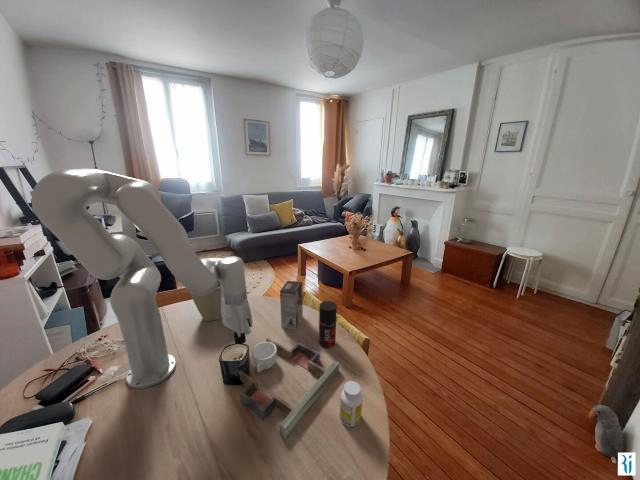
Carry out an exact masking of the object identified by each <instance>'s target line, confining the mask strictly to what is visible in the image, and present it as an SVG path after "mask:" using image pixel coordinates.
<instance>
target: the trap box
mask: <svg viewBox="0 0 640 480" xmlns="http://www.w3.org/2000/svg"><path fill="white" fill-rule="evenodd" d="M265 342H271V343H273V344H275V346H276V348H277V354H280V355H281V356H283V357H285V358H286V359H288V360H290V361H291V362H293V363H295V364H297V365H298V366H300V367H303V368H304V369H305V370H307V371H309V372H311V373H312V374H315V375H316V376H317V377H319V379H318V380H317V381H316V382H315V383H314V384H313V385H312V387H310V389H309V390H308V391H307V392H306V393H305V394H304V396H303V397H302V398H301V399H300V400H299V402H298V403H297V404H296V405H295V406H293V405H292V404H291V403H289V402H287V401H286V400H284V399H283V398H281V397H280V396H279V395H277V394H274V396H273V397H272V398H270V397H269V396H267V395H266V394H265V393H263V392H262V391H261V390H259V386H258V385H259V384H258V383H259V382H258V381H257V380H256V379H254V378H252V377H251V376H250V375H249V374H247V373H245V372H244V371H243V370H241V372H239V375H240V380H241V381H240V380H239V381H240V382H241V383H243V384H244V385H245V386H247V387H246V388H245V389H243V391H242V392H241V393H239V398H240V403H241V405H243V406H244V407H246V408H247V409H248V410H249V411H250V412H252V413H253V414H255V416H257V417H258V418H259V419H261V420H262V421H266V419H267V418H268V417H269V416H270V415H271V414H272V412H274V410H275V409H276V408H277V409H278V410H279V411H280V412H281V413H283V414H285V415H286V417H285V418H284V419H283V420H282V421H281V423H280V424H279V434H280V436H282V437H283V438H284V439H286V438H287V437H288V436H289V434H290V433H291V431H293V429H294V428H295V426H296V425H297V424H298V423H299V421H301V419H302V418H303V417H304V415H305V414H306V413H307V412H308V410H309V409H310V408H311V407H312V405H313V404H314V402H315V401H316V400H317V399H318V397H319V396H320V395H321V394H322V392H323V391H324V390H325V389H326V387H327V386H328V385H329V384H330V382H331V381H333V379H334V378H335V376H336V375H338V372H339V371H340V362H339V361H336V360H334V361H333V362H331V364H330V366H329V367H328V368H327V369H326V368H324V367H323V366H320V365H318V363H319V362H320V361H321V353H320V352H319V351H316V350H314V349H313V348H311V347H308V346H307V345H306V344H303V343H301V342H297V344H295V345H294V346H293V347H292V348H291V349H289V348H288V347H285V346H284V345H282V344H280V343H278V342H276V341H275V340H273V339H271V338H270V337H267V338H266V339H265Z"/></svg>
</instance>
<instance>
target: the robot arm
mask: <svg viewBox="0 0 640 480" xmlns="http://www.w3.org/2000/svg"><path fill="white" fill-rule="evenodd" d="M30 199H31V201H30V202H31V206H32V209H33V212H34V214H35V216H36V217H37V218H38V220H39V221H40V222H41V223H42V224H43V225H44V226H45V227H46V228H47V229H48V230H49V231H50V232H51V233H52V234H53V235H54V236H55V237H56V238H57V239H58V240H59V241H60V242H61V244H63V246H64V247H65V249H66V250H68V252H69V253H70V254H71V255H72V256H73V257H74V258H75V259H76V260H77V262H79V263H80V264H81V266H82V267H83V268H85V270H86V272H88V273H89V274H90V275H92V276H93V277H95V278H96V279H98V280H102V281H103V280H105V281H109V280H112V279H115V278H118V277H119V280H118V281H117V282H116V284H115V285H114V287H113V288H112V290H111V293H110V296H109V297H110V299H109V302H110V306H111V309H112V311H113V313H114V315H115V317H116V320H117V322H118V325H119V329H120V333H121V336H122V340H123V345H124V348H125V352H126V355H127V359H128V364H129V368H130V369H129V370H128V372H127V374H126V378H125V380H126V384H127V385H128V387H130V388H133V389H146V388H150V387H152V386H156V385H158V384H159V383H161V382H163V381H165V380H166V379H167V378H168V377H169V376H170V375H172V373H173V372H174V370H175V369H176V365H177V361H176V358H175V357H174V356H173V355H172V354H169V352H168V351H169V350H168V345H167V341H166V336H165V330H164V325H163V320H162V315H161V313H160V309H159V307H158V304H157V300H156V296H157V292H158V290H159V288H160V284H161V281H162V276H161V273H160V270H159V269H158V267H157V266H156V264H155V263H154V262H153V261H152V260H151V258H150V257H149V255H148V254H147V253H146V252H145V250H144V249H143V248H142V247H141V246H140V244H139V243H138V242H137V241H136V240H134V239H133V238H132V237H130V236H127V235H126V234H122V233H113V234H111V233H110V232H109V230H107V229H106V227H105V226H104V225H103V223H102V222H100V220H99V219H98V218H96V217H95V216H94V215H92V214H91V213H90V212H89V211H88V209H87V207H88V206H89V205H92V204H95V203H102V204H107V205H111V206H112V205H113V206H116V207H117V209H118V210H119V212H120V213H122V215H123V216H124V217H125V218H127V220H128V221H129V222H130V223H131V224H132V225H133V226H134V227H136V229H137V230H138V231H140V233H141V234H142V235H143V236H145V238H146V239H147V240H148V241H149V242H150V243H151V244H152V245H153V246H154V247H155V249H156V251H157V253H158V255H159V256H160V258H161V259H162V261H163V263H164V264H165V265H166V267H167V269H168V270H169V271H170V273H171V274H172V275H173V276H174V278H175V279H177V281H178V282H179V283H180V284H181V285H182V286H183V287H184V288H185V289H186V290H188V291H189V293H190V292H192V293H193V294H195V295H199V296H206V295H209V294H211V293H212V292H213V291H214V290H215V289H216V287H217V285H218V281H219V282H220V288H221V295H222V300H221V314H222V317H221V321H222V324H223V326H225V327H226V328H228V329H229V330H231V332H232V335H233V339H234V345H235V344H242V345H243V344H245V343H246V341H247V340H246V336H248V335H250V334H251V332H252V331H251V328H252V327H253V317H252V311H251V307H250V303H249V300H248V291H247V283H246V282H247V281H246V273H245V264H244V261H243V258H242V257H239V256H234V255H232V256H225V257H223V258H219V257H218V258H213V257H209V258H208V257H203V258H200V257H198V255H197V254H196V252H195V250H194V248H193V246H192V244H191V243H190V239H189V237H188V234H187V231H186V229H185V227H184V226H183V225H182V224H181V223H180V222H179V220H178V219H177V218H176V217H175V216H174V214H173V213H171V211H170V210H169V209H168V208H167V207H166V206H165V204H164V203H163V202H162V195H161V192H160V190H159V189H158V187H156V186H155V184H152V183H151V182H148V181H146V180H143V179H138V178H133V177H129V176H125V175H121V174H118V173H117V174H116V173H112V172H109V171H104V170H100V169H96V168H89V167H88V168H87V167H84V168H83V167H82V168H69V169H68V168H66V169H65V168H64V169H60V170H56V171H54V172H53V171H52V172H51V173H50V172H49V174H47V175H44V176H43V177H42V178H41V179H40V180H39V181H38V182H37V183H36V184H35V186H34V188H33V190H32V193H31V198H30Z"/></svg>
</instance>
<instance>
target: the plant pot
mask: <svg viewBox="0 0 640 480" xmlns="http://www.w3.org/2000/svg"><path fill="white" fill-rule="evenodd" d="M189 293H190V295H191V297H192V300H193V302H194V305H195V308H196V309H197V311H198V312H199V314H200V316H201V317H202V319H203V320H205V321H206V322H215V321H216V320H219V319H222V314H221V300H222V295H221V288H220V282H219V281H218V285H217V287H216V289H215V290H214V291H213V292H212V293H211V294H209V295H206V296H199V295H195V294H193V293H192V292H190V291H189Z"/></svg>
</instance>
